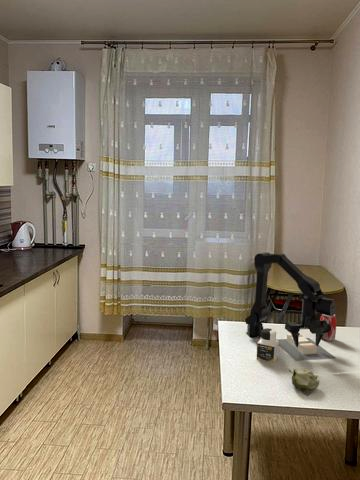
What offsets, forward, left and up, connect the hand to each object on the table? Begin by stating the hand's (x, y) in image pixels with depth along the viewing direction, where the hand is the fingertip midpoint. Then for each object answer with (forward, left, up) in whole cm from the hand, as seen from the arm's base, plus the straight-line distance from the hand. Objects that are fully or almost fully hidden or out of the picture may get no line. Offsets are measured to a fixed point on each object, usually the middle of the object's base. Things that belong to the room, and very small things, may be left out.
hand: (306, 346), depth 176 cm
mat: (0, +3, -3) cm, 4 cm away
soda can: (+17, +13, -3) cm, 22 cm away
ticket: (0, +8, -2) cm, 8 cm away
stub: (0, 0, -2) cm, 2 cm away
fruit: (-16, -29, -3) cm, 33 cm away
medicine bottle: (-19, -3, -3) cm, 19 cm away
